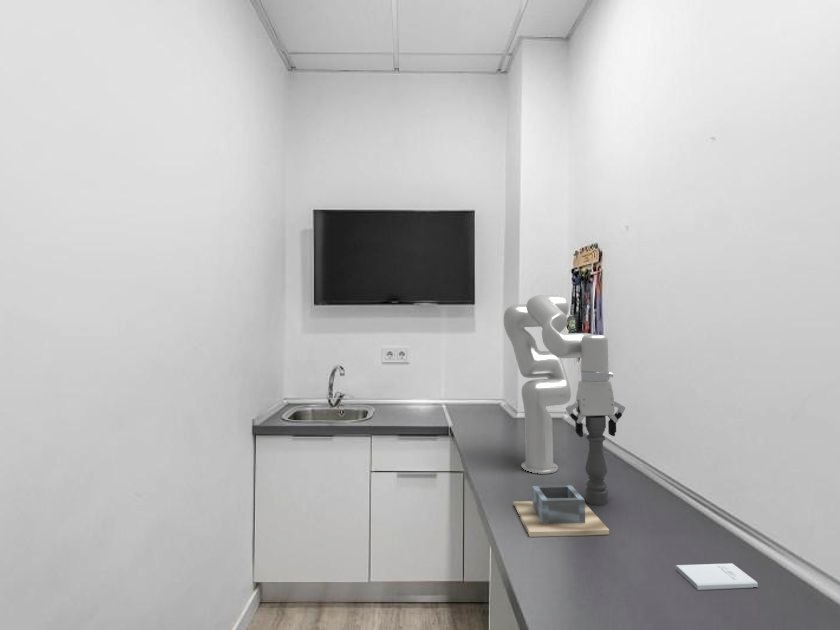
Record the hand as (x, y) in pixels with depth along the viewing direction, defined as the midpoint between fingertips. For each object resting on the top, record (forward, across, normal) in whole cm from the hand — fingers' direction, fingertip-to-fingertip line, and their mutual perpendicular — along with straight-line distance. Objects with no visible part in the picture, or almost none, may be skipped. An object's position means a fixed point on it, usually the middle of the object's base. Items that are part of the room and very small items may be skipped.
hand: (595, 435), depth 147 cm
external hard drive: (+20, -9, +43) cm, 48 cm away
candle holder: (+20, 0, 0) cm, 20 cm away
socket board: (+19, +15, +12) cm, 27 cm away
